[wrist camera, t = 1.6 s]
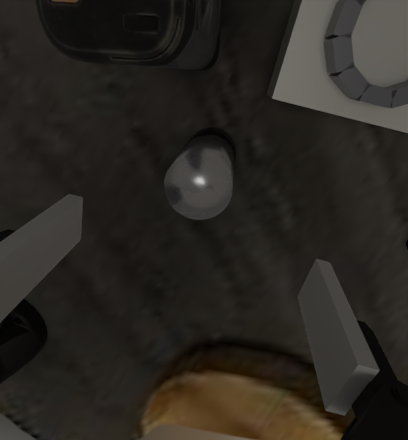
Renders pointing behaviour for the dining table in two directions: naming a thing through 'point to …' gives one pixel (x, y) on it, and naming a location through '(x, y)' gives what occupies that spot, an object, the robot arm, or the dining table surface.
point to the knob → (202, 175)
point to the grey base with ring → (346, 60)
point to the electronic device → (135, 31)
